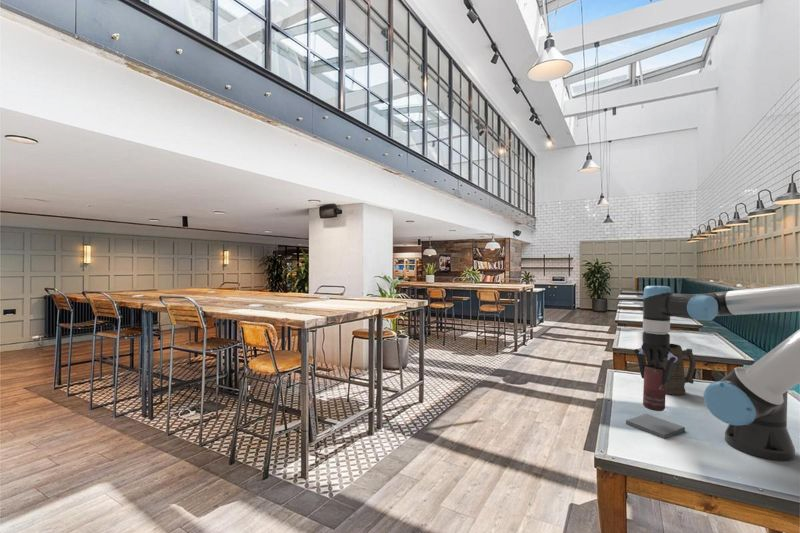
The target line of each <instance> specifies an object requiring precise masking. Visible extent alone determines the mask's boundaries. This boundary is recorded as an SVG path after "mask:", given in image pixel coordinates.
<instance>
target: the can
mask: <svg viewBox="0 0 800 533" xmlns="http://www.w3.org/2000/svg"><path fill="white" fill-rule="evenodd" d="M664 371H665V368H664V369H662V370H661V369H656V365H655V367H652V368H650V367H647V365H646V366H645V368H644V379H643V392H642V393H643V394H642V397H643V398H642V405H643V407H644V408H646V409H647V410H650V411H654V412H663V411H664V410H665V409H666V396H667V394H666V384H662V378H663V374H664Z"/></svg>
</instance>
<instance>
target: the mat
mask: <svg viewBox="0 0 800 533" xmlns="http://www.w3.org/2000/svg"><path fill="white" fill-rule="evenodd" d="M625 424H626V425H628V426H631V427H634V428H636V429H638V430H641V431H644V432H646V433H649V434H651V435H654V436H657V437H659V438H660V439H667V438H669V437H671V436H675V435H677V434H680V433H682V432H685V428H686V427H685V426H682V425H681V424H680V425H679V424H677V423H674V422H671V421H669V420H667V419H666V420H665V419H662V418H660V417H658V416H654V415H652V414H649V413H644V414H642V415H638V416H635V417H631V418H629V419H626V420H625Z"/></svg>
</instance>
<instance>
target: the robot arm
mask: <svg viewBox="0 0 800 533" xmlns="http://www.w3.org/2000/svg"><path fill="white" fill-rule="evenodd" d="M642 306H643V308H642V309H643V311H642V312H643V313H642V330H643V332H642V339H641V340H642V345H641V347H640V348H636V349H634V351H633V352H634V353H635V355H636V357H637V358H636V359H637V362H638V367H639V371H640V376H641V378H642V379H643V380H644V368H645V366H646V365H647V367H650V368H652V367H655V363H656V369H661V370H662V369H664V362H665V358H666V357H667V356H668V362H667V364H666V368H665V371H664V374H663V378H662V384H667V383H669V382H670V379H671V375H672V372H673V369H674V365H675V363H676V362H677V361H678V359H679V357H677V356H674V355H673V354H672V353H671V350H670V348H669V345H670V344H671V341H670V340H671V334H670V332H671V317H674V318H675V317H676V318H683V319H689V320H695V321H708V322H711V321H712V320H714V319H715V318H716V317H725V316H727V317H728V316H738V315H755V314H772V313H788V312H789V313H791V312H800V283H793V284H791V283H790V284H781V285H773V286H762V287H754V288H746V289H745V288H743V289H736V290H735V289H734V290H727V291H716V292H708V293H690V294H689V293H675V292H672V289H671V287H670V286H667V285H646V286H645V287H644V288H643V296H642ZM645 355H646V356H645ZM798 384H800V328H799V329H798V330H796V331H795V332H794V333H792V334H791V335H790V336H788V337H787V338H785V339H784V340H783V341H781V342H780V343H779V344H777V345H776V346H775V347H774V348H772V349H771V350H770V351H768V352H767V353H766V354H764V355H763V356H762V357H761V358H759V359H758V360H756V361H755V362H753V364H750V365H749V366H747V367H746V366H738V367H734V368H733V370H732V371H730V372H729V373H728V374H727V375H726V376H724V377H723V378H721V379H720V380H717V381H713V382H711V383H710V384H708V385H707V386H706V387H705V389H704V392H703V400H704V404H705V406H706V408H707V409H708V410H709V412H710V414H712V416H714V417H715V418H716V419H718V420H720V421H721V422H723V423H725V424H728V425H727V426H726V429H725V431H724V441H725V442H726V443H727V444H728V445H729V446H731V447H732V448H734V449H737V450H738V451H741V452H743V453H746V454H749V455H751V456H755V457H759V458H763V459H769V460H774V461H791V460H790V459H792V460H794V459H795V458H796V448H795V446H794V443H793V440H792V438H791V436H790V432H789V431H788V427H787V426H788V424H787V422H788V421H787V420H788V391H789V390H791V389H792V388H795V387H796V386H797V385H798ZM794 457H795V458H794ZM793 458H794V459H793Z"/></svg>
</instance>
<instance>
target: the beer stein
mask: <svg viewBox="0 0 800 533" xmlns="http://www.w3.org/2000/svg"><path fill="white" fill-rule="evenodd" d="M669 348H670V350H671V353H672V354H673V355H674V356H677V357H679V359H678V361H677V362H676V363H675V365H674V369H673V372H672V375H671V379H670V382H669V383H667V384H666V395H671V394H672V396H674V395H675V396H678V395H679V396H680V395H684V394H686V391H687V390H686V388H685V384H687V383H689V384H692V385H693V384H694V381H695V380H694V379H693V374H694V372H695V370H696V366H697V364H696V363H697V362H696V359H695V356H694V353H693V348H686V349H684V350H683V349H682V346H681V345H680V344H676V343H670V345H669ZM684 356H687V357H688V361H689V362H688V363H689V364H688V365H689V366H688V371H687V373H686V376H685V367H684V366H685V364H684V359H683V357H684ZM667 362H668V356H667V357H666V358H665V362H664V368H666V364H667ZM655 365H656V363H655Z"/></svg>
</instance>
